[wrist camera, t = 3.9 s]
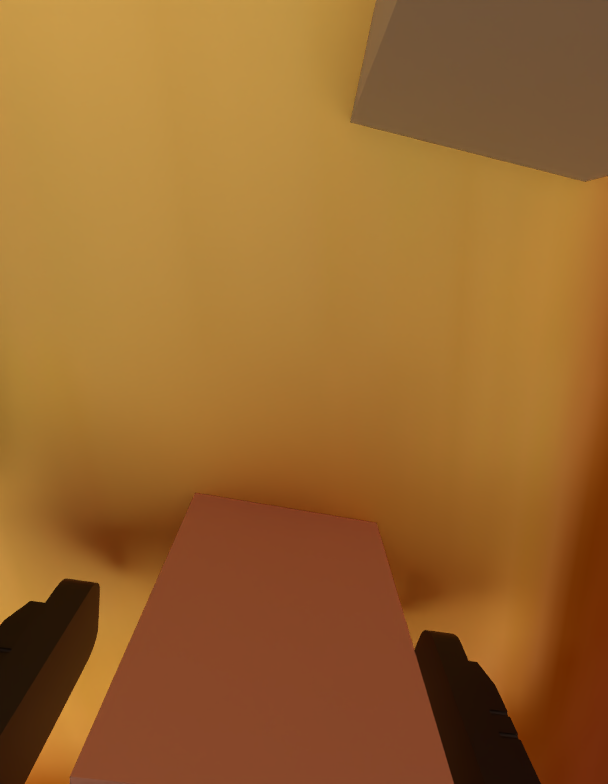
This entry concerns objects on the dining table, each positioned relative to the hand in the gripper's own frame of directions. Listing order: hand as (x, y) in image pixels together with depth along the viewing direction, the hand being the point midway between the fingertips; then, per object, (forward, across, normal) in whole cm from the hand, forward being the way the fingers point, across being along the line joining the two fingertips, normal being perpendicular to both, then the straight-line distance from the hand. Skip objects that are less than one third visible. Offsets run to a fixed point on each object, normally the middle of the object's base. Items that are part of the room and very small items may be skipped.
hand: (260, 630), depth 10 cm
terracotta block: (+2, 0, 0) cm, 2 cm away
